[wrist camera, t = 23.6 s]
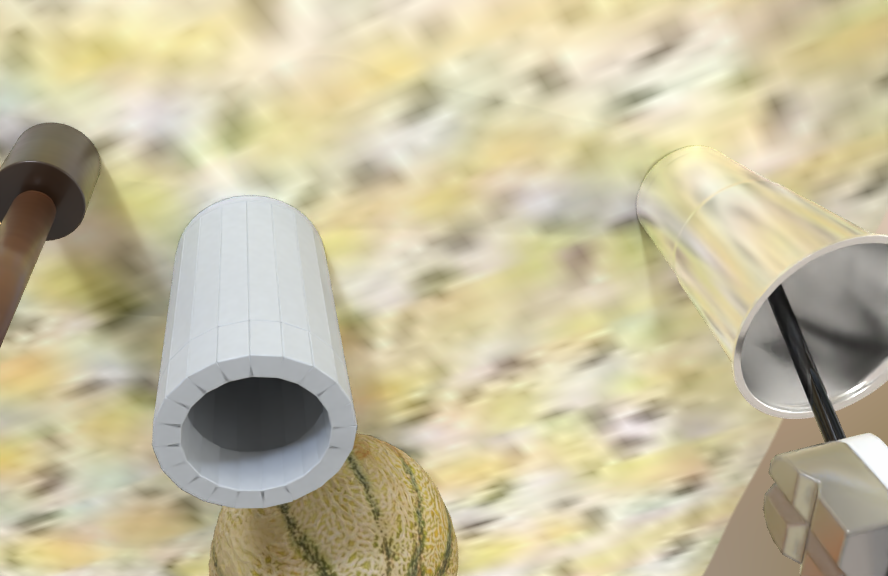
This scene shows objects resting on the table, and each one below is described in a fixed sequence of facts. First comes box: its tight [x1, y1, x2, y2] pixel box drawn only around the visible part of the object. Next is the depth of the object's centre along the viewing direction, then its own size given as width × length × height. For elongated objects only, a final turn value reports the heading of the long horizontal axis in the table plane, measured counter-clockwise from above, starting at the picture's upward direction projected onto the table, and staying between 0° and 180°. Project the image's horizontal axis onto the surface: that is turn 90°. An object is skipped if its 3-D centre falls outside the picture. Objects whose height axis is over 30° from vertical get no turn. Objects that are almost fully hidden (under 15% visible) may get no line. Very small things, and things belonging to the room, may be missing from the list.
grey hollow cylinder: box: [152, 196, 357, 508], centre depth 40 cm, size 8×8×15 cm
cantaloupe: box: [209, 433, 458, 576], centre depth 49 cm, size 15×15×15 cm
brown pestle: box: [0, 123, 100, 347], centre depth 33 cm, size 4×4×20 cm
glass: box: [636, 146, 888, 442], centre depth 38 cm, size 11×11×30 cm
